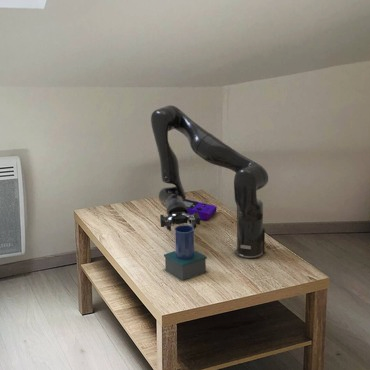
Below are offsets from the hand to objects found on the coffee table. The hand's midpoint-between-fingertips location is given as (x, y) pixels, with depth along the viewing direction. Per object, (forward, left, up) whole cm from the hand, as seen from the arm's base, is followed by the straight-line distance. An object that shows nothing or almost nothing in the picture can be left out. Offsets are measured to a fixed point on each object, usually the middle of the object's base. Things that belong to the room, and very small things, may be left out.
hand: (182, 227), depth 245 cm
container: (+3, +6, -13) cm, 15 cm away
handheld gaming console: (-31, -33, -14) cm, 48 cm away
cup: (+4, +6, -7) cm, 10 cm away
